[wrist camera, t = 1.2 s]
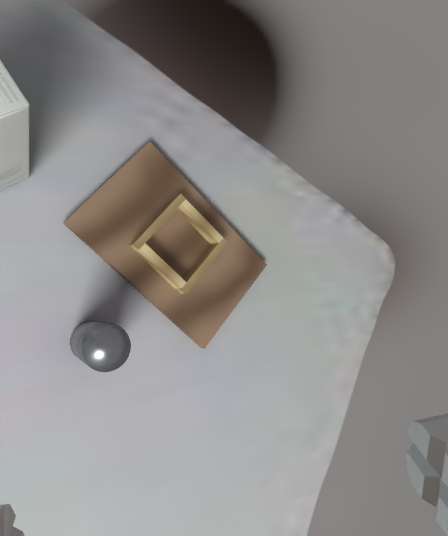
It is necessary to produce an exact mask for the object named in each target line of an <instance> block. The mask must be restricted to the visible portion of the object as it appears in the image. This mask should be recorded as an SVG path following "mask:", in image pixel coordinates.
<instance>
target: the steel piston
mask: <svg viewBox="0 0 448 536" xmlns="http://www.w3.org/2000/svg"><path fill="white" fill-rule="evenodd" d="M70 346H71V350H72V352H73V353H74V355H75V356H76V357H78V358H79V359H80V360H82V361H83V362H84V363H86V364H87V365H88V366H90V367H91V368H92V369H94V370H97V371H100V372H109V371H113V370H115V369H117V368H119V367H120V366H121V365H123V364H124V362H125V361H126V360H127V358H128V356H129V353H130V348H131V344H130V339H129V336H128V334H127V333H126V332H125V330H124V329H122V328H121V327H119V326H117V325H115V324H110V323H103V322H96V321H88V322H85V323H82V324H80V325H79V326H78V327H77V328H76V329H75V330H74V331H73V333H72V335H71V339H70Z"/></svg>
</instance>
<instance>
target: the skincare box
mask: <svg viewBox="0 0 448 536" xmlns="http://www.w3.org/2000/svg"><path fill="white" fill-rule="evenodd" d="M29 106H30V104H29V103H28V101H27V100H26V98H25V97H24V95H23V94H22V92H21V91H20V89H19V87H18V86H17V84H16V83H15V81H14V80H13V78H12V77H11V75H10V73H9V72H8V70H7V69H6V67H5V66H4V64H3V63H2V61H1V60H0V191H1V190H4V189H6V188H8V187H10V186H12V185H14V184H16V183H18V182H21V181H23V180H25V179H27V178H29Z"/></svg>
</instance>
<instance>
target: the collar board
mask: <svg viewBox="0 0 448 536" xmlns="http://www.w3.org/2000/svg"><path fill="white" fill-rule="evenodd" d="M64 224H65V225H66V226H67V227H68V228H69V229H70V230H71V231H72V232H73V233H75V234H76V235H77V236H78V237H79V238H80V239H81V240H82V241H83V242H85V243H86V244H87V245H88V246H89V247H90V248H91V249H92V250H93V251H95V252H96V253H97V254H98V255H99V256H100V257H101V258H102V259H103V260H104V261H106V262H107V263H108V264H109V265H110V266H111V267H112V268H113V269H114V270H116V271H117V272H118V273H119V274H120V275H121V276H122V277H123V278H124V279H126V280H127V281H128V282H129V283H130V284H131V285H132V286H133V287H134V288H135V289H137V290H138V291H139V292H140V293H141V294H142V295H143V296H144V297H145V298H147V299H148V300H149V301H150V302H151V303H152V304H153V305H154V306H155V307H157V308H158V309H159V310H160V311H161V312H162V313H163V314H164V315H165V316H166V317H168V318H169V319H170V320H171V321H172V322H173V323H174V324H175V325H176V326H178V327H179V328H180V329H181V330H182V331H183V332H184V333H185V334H186V335H188V336H189V337H190V338H191V339H192V340H193V341H194V342H195V343H196V344H197V345H199V346H200V347H201V348H205V347H206V346H207V344H208V343H209V342H210V340H211V339H212V338H213V336H214V335H215V334H216V332H217V331H218V330H219V328H220V327H221V326H222V324H223V323H224V322H225V320H226V319H227V318H228V316H229V315H230V313H231V312H232V311H233V309H234V308H235V307H236V305H237V304H238V303H239V301H240V300H241V299H242V297H243V296H244V295H245V293H246V292H247V291H248V289H249V288H250V287H251V285H252V284H253V283H254V281H255V280H256V279H257V277H258V276H259V274H260V273H261V272H262V270H263V269H264V268H265V266H266V265H267V264H266V263H265V262H264V261H263V260H262V259H261V258H260V257H259V256H258V255H257V254H256V253H255V252H254V251H253V249H252V248H251V247H250V246H249V245H248V244H247V243H246V242H245V241H244V240H243V239H242V238H241V237H240V236H239V235H238V234H237V233H236V232H235V231H234V229H233V228H232V227H231V226H230V225H229V224H228V223H227V222H226V221H225V220H224V219H223V218H222V217H221V216H220V215H219V214H218V213H217V212H216V210H215V209H214V208H213V207H212V206H211V205H210V204H209V203H208V202H207V201H206V200H205V199H204V198H203V197H202V196H201V195H200V194H199V193H198V192H197V190H196V189H195V188H194V187H193V186H192V185H191V184H190V183H189V182H188V181H187V180H186V179H185V178H184V177H183V176H182V175H181V174H180V173H179V171H178V170H177V169H176V168H175V167H174V166H173V165H172V164H171V163H170V162H169V161H168V160H167V159H166V158H165V157H164V156H163V155H162V154H161V152H160V151H159V150H158V149H157V148H156V147H155V146H154V145H153V144H152V143H151V142H150V141H149V142H148V143H147V144H146V145H145V146H144V147H143V148H142V149H141V150H140V151H138V152H137V153H136V154H135V155H134V156H133V157H132V158H131V159H130V160H129V161H128V162H127V163H126V164H125V165H124V166H123V167H122V168H121V169H119V170H118V171H117V172H116V173H115V174H114V175H113V176H112V177H111V178H110V179H109V180H108V181H107V182H106V183H105V184H104V185H103V186H101V187H100V188H99V189H98V190H97V191H96V192H95V193H94V194H93V195H92V196H91V197H90V198H89V199H88V200H87V201H86V202H85V203H84V204H82V205H81V206H80V207H79V208H78V209H77V210H76V211H75V212H74V213H73V214H72V215H71V216H70V217H69V218H68V219H67V220H66V221H64Z"/></svg>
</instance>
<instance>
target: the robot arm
mask: <svg viewBox="0 0 448 536" xmlns="http://www.w3.org/2000/svg"><path fill="white" fill-rule="evenodd" d="M408 436H409V437H410V438H411V440H412V441H413V444H412V445H411V446H410V447H409V449H408V450H407V451H406V466H407V470H408V473H409V477H410V479H411V481H412V483H413V485H414V488H415V489H416V491H417V492H418V494H419V495H420V497H421V498H422V499H423V500H425V501H426V502H428V503H430V504H431V505H433V506H435V507H436V521H437V522H438V523H439V525H440V527H441V528H442V529H443V531H444V533H445V534H446V535H447V536H448V413H447V414H443V415H438V416H433V417H429V418H424V419H420V420H415V421H412V423H411V424H410V426H409V432H408ZM15 517H16V515H15V513H14V511H13V509H12V507H11V506H10V504H5V505H0V536H24V533H23V531H21V530H19V529H17V528H15V527H13V523H14V520H15Z"/></svg>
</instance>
